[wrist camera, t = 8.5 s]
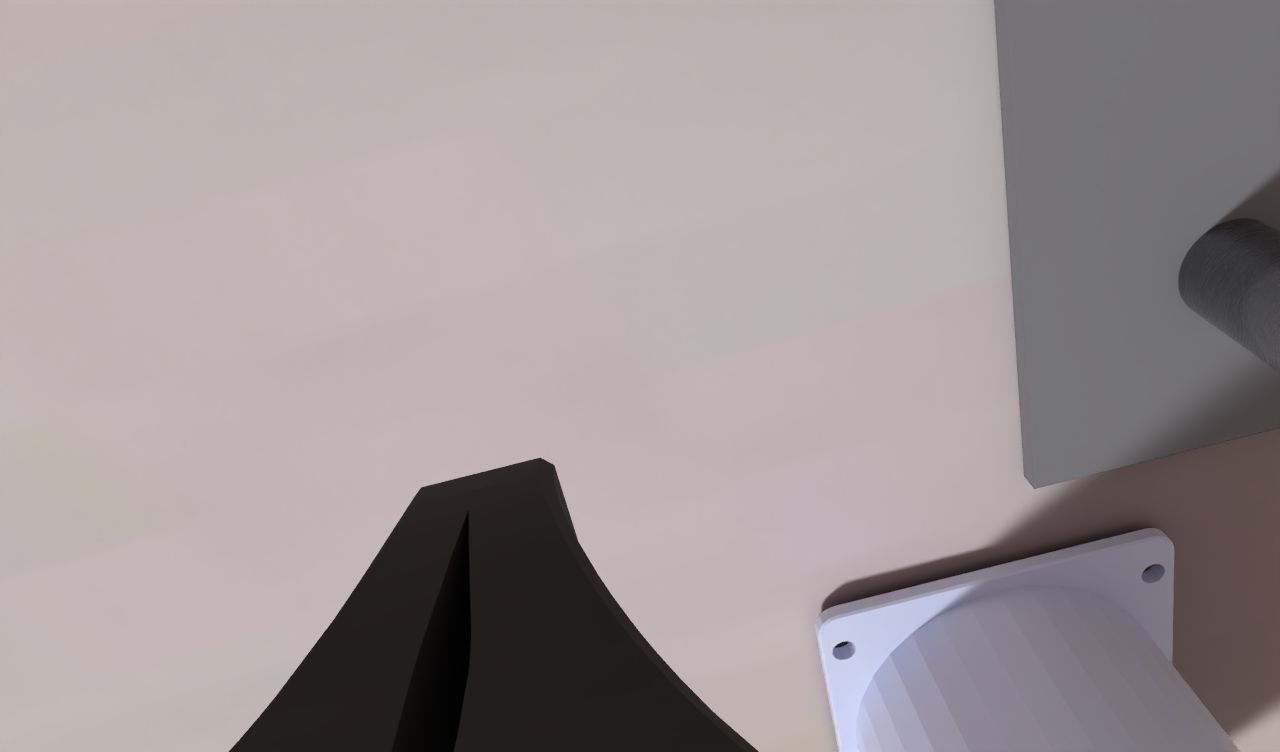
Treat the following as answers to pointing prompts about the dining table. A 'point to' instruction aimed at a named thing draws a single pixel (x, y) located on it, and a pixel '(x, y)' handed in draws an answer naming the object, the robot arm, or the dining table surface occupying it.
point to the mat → (1132, 220)
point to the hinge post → (1237, 284)
